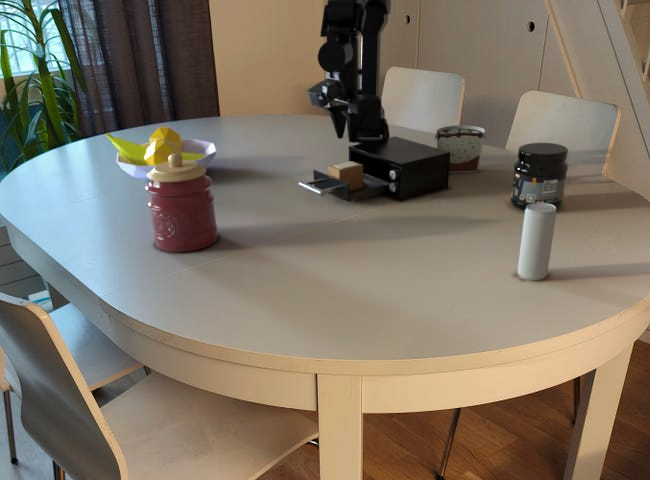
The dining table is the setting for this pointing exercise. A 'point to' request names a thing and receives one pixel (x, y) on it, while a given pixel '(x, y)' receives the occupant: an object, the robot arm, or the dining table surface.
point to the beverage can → (536, 241)
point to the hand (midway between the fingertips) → (345, 140)
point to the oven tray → (345, 186)
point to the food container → (461, 146)
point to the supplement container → (539, 175)
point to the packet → (348, 173)
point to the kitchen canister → (181, 205)
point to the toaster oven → (404, 166)
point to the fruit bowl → (160, 151)
